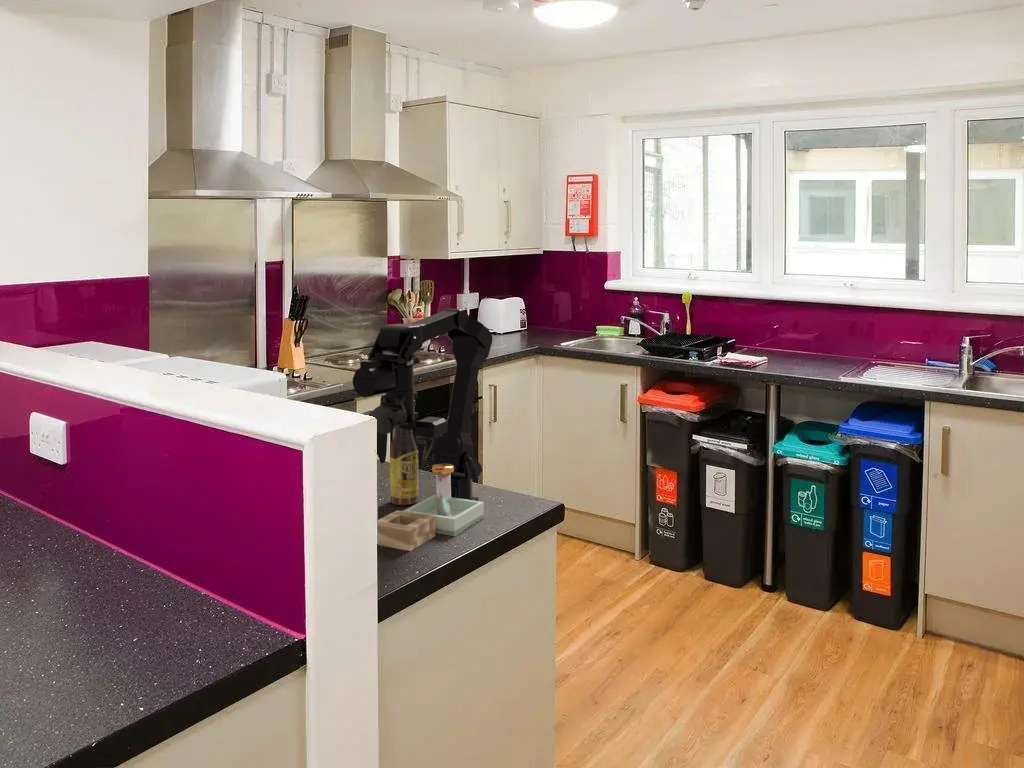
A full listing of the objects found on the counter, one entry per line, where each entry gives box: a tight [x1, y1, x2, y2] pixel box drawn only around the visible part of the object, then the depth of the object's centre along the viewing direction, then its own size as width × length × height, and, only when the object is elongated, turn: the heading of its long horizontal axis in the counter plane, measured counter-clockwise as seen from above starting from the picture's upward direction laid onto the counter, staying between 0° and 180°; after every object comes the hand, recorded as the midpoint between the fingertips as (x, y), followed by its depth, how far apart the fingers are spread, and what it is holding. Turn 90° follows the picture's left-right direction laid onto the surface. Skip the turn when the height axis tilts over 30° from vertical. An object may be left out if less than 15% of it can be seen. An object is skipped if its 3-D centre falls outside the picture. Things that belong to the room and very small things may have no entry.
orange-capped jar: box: [431, 463, 454, 517], centre depth 181 cm, size 4×4×11 cm
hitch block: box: [377, 510, 437, 552], centre depth 173 cm, size 9×9×4 cm
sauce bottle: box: [389, 423, 419, 506], centre depth 195 cm, size 7×6×20 cm
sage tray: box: [403, 494, 485, 537], centre depth 182 cm, size 12×12×4 cm
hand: (401, 465), depth 178 cm, fingers open, 9 cm apart
